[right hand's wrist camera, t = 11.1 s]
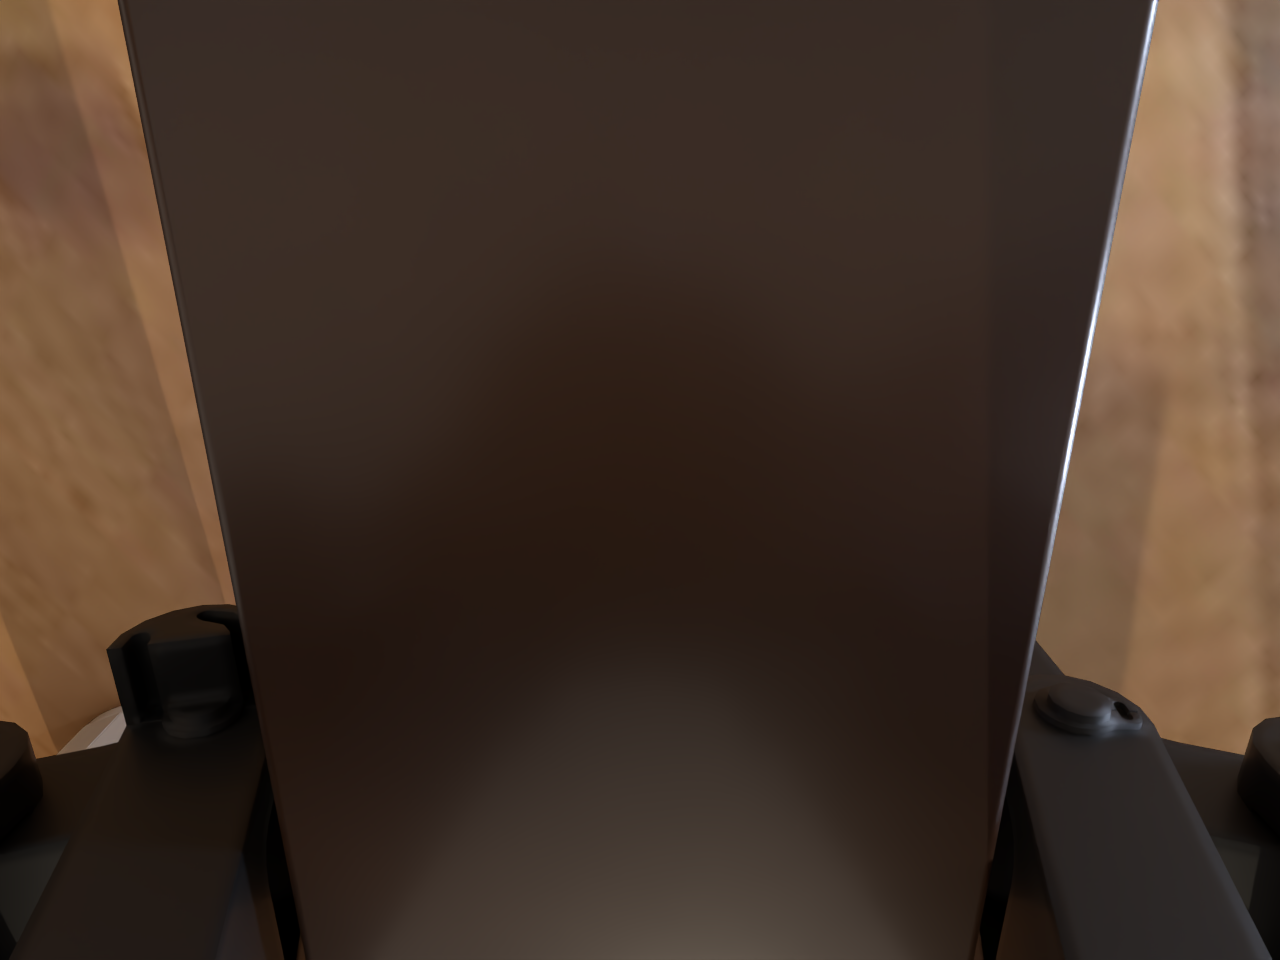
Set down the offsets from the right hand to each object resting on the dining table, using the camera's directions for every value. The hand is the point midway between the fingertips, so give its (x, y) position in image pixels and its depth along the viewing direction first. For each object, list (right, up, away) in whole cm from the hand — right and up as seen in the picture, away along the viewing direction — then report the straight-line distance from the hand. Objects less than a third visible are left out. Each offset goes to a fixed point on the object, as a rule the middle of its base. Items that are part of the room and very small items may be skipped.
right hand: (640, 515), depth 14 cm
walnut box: (0, +9, -3) cm, 9 cm away
